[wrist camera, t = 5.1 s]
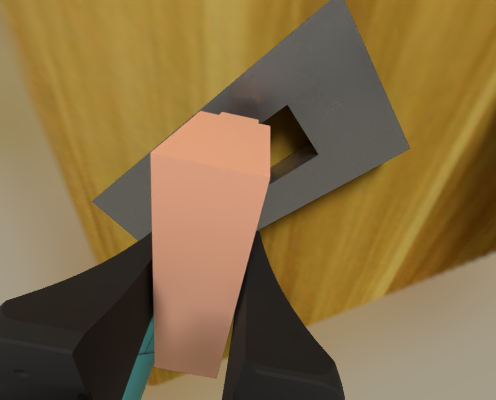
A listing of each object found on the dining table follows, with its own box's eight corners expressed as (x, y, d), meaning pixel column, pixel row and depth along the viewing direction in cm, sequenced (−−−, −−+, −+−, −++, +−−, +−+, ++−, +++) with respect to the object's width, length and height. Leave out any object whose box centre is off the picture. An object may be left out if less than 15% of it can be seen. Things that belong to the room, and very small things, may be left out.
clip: (270, 112, 13) (270, 177, 6) (235, 260, 18) (216, 378, 12) (213, 99, 13) (150, 152, 6) (196, 253, 18) (154, 367, 12)
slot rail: (390, 135, 19) (410, 148, 16) (186, 252, 27) (177, 273, 24) (328, 2, 15) (340, -9, 12) (111, 184, 23) (91, 201, 20)
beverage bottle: (181, 268, 28) (42, 607, 11) (185, 305, 31) (83, 606, 14) (125, 262, 28) (-98, 585, 11) (135, 299, 32) (-24, 589, 15)
